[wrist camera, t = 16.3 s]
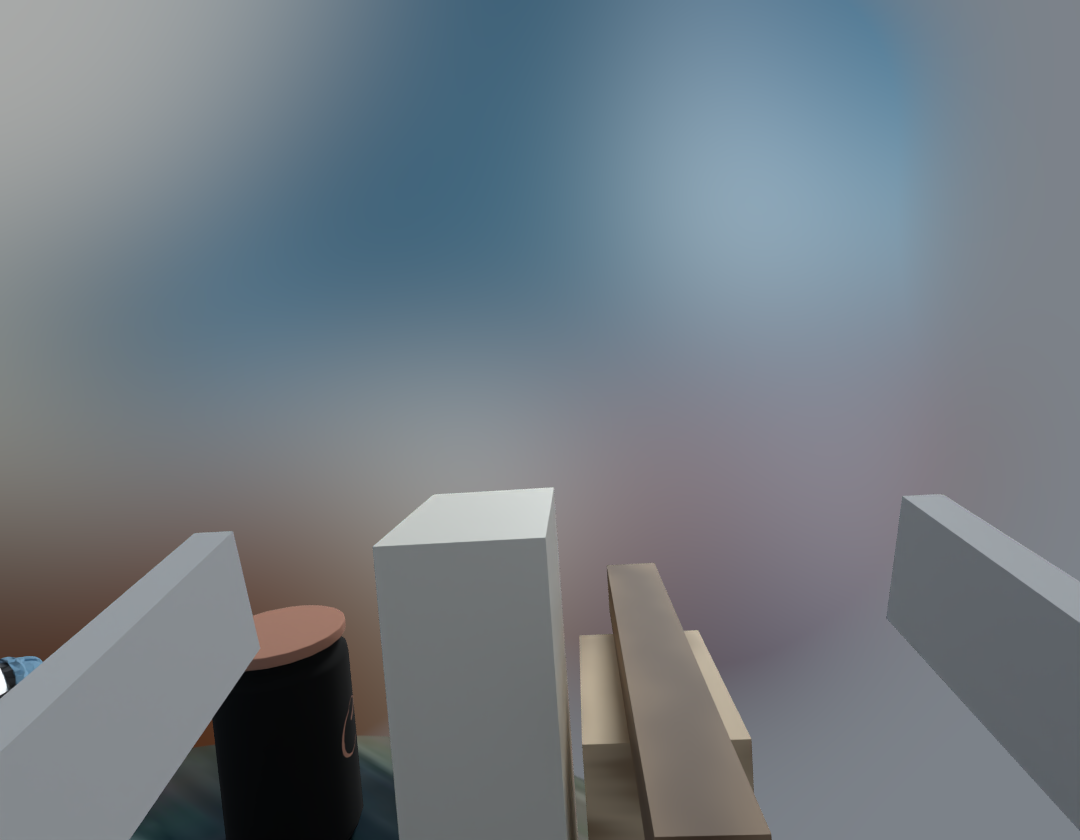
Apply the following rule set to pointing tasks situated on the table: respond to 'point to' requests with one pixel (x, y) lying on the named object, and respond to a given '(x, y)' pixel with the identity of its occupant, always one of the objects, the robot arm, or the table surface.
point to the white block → (477, 669)
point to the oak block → (608, 739)
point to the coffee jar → (291, 733)
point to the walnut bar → (674, 722)
